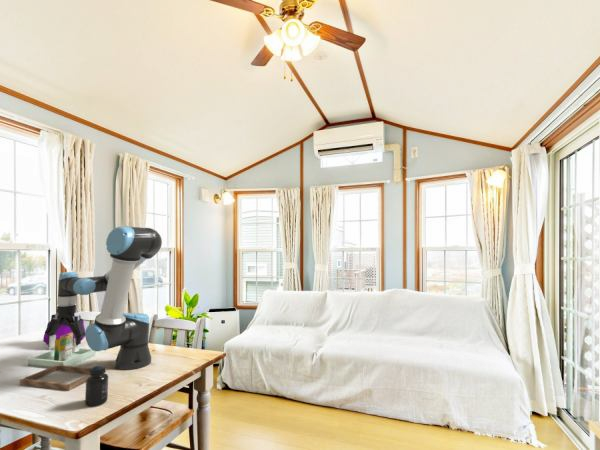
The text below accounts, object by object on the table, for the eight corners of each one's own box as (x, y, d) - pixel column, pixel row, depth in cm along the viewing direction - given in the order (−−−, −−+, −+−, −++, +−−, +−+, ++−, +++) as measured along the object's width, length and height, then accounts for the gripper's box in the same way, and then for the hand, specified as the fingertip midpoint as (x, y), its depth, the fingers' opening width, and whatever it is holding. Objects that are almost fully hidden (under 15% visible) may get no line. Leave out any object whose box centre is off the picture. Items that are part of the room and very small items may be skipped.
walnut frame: (102, 374, 142) (102, 369, 142) (69, 390, 126) (69, 385, 126) (57, 369, 146) (57, 364, 146) (19, 384, 130) (20, 379, 130)
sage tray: (95, 355, 164) (95, 349, 164) (63, 369, 146) (63, 362, 146) (63, 352, 168) (63, 346, 168) (27, 365, 149) (28, 358, 150)
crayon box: (67, 355, 161) (68, 331, 161) (72, 356, 160) (73, 332, 161) (53, 361, 153) (54, 335, 154) (58, 361, 153) (60, 336, 154)
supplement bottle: (102, 396, 122) (104, 363, 123) (110, 402, 118) (112, 367, 119) (81, 403, 117) (83, 368, 118) (88, 409, 113) (90, 373, 113)
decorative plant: (54, 340, 188) (58, 286, 189) (90, 339, 191) (93, 286, 193) (34, 350, 169) (38, 291, 171) (75, 349, 172) (78, 291, 174)
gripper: (95, 304, 160) (93, 350, 159) (51, 302, 164) (48, 345, 163) (83, 307, 152) (80, 355, 151) (37, 304, 157) (34, 350, 156)
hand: (63, 350), depth 157 cm, fingers open, 13 cm apart
